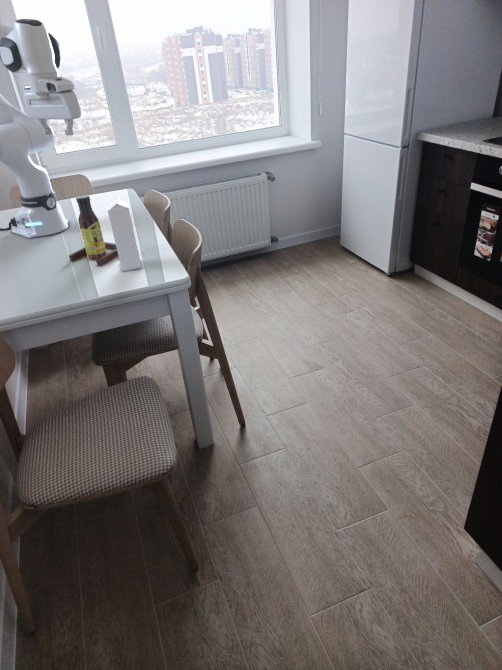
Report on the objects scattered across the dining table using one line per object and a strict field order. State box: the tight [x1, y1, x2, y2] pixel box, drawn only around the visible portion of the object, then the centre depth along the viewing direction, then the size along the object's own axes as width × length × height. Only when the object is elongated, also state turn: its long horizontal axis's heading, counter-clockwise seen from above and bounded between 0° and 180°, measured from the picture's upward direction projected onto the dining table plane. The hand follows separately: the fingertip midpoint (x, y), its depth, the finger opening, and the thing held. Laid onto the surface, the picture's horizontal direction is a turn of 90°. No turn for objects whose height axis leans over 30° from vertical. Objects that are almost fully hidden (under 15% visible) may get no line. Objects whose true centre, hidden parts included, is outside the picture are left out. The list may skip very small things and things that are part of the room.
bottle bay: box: [68, 241, 119, 267], centre depth 157 cm, size 13×13×2 cm
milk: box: [106, 195, 142, 272], centre depth 143 cm, size 6×6×22 cm
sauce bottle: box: [75, 194, 107, 261], centre depth 152 cm, size 7×6×20 cm
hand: (59, 134), depth 147 cm, fingers open, 8 cm apart
